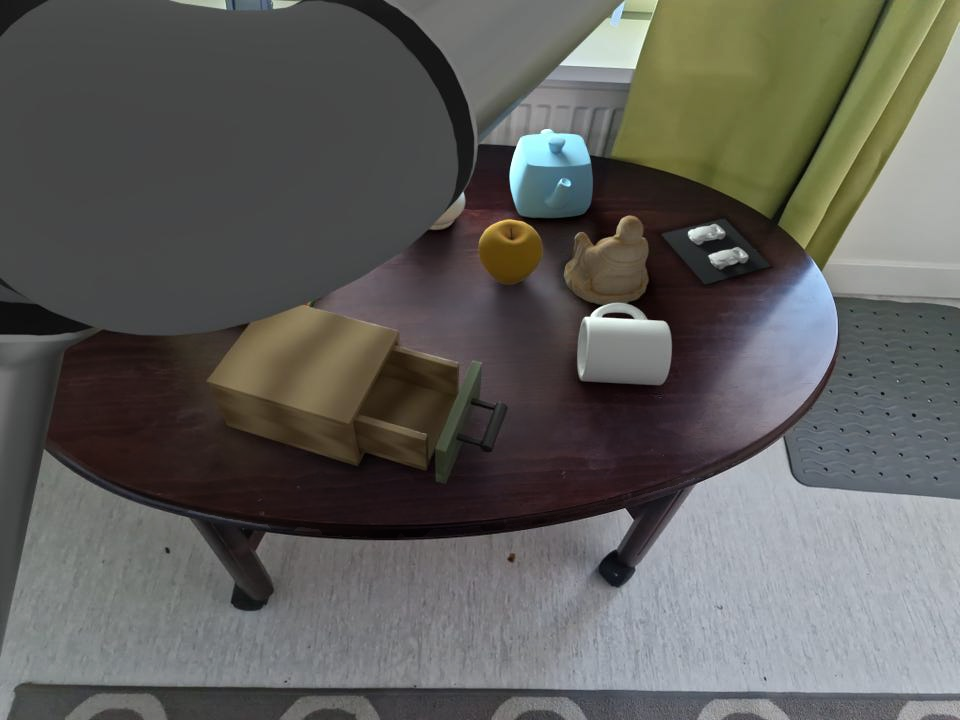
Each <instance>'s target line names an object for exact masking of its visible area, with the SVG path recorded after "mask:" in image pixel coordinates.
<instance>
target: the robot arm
mask: <svg viewBox="0 0 960 720" xmlns="http://www.w3.org/2000/svg"><path fill="white" fill-rule="evenodd" d="M625 1H626V0H299V1H298V2H296V3H294V4H292V5H289V6H285V7H278V8H269V9H225V8H218V7H211V6H205V5H198V4H192V3H191V4H190V3H183V2H178V1H175V0H0V657H1V655H2V650H3V646H4V642H5V637H6V632H7V627H8V623H9V619H10V613H11V608H12V602H13V599H14V595H15V589H16V584H17V580H18V576H19V575H18V574H19V570H20V566H21V561H22V556H23V551H24V545H25V543H26V542H25V541H26V537H27V532H28V527H29V524H30V523H29V522H30V518H31V513H32V510H33V509H32V508H33V503H34V499H35V493H36V489H37V485H38V480H39V476H40V470H41V467H42V466H41V465H42V461H43V455H44V450H45V447H46V442H47V437H48V432H49V427H50V422H51V418H52V413H53V409H54V404H55V398H56V393H57V389H58V384H59V380H60V374H61V370H62V366H63V365H62V364H63V360H64V356H65V352H66V350H68V349H69V348H71V347H73V346H74V345H76V344H79V343H80V342H82V341H84V340H86V339H88V338H90V337H92V336H94V335H95V334H97V333H99V332H101V331H103V330H104V331H110V332H117V333H122V334H130V335H137V336H181V335H192V334H193V335H194V334H201V333H202V334H203V333H208V332H214V331H221V330H225V329H229V328H233V327H234V326H238V325H242V324H246V323H250V322H254V321H258V320H262V319H265V318H269V317H271V316H274V315H276V314H279V313H282V312H284V311H287V310H290V309H293V308H295V307H298V306H301V305H303V304H306V303H309V302H312V301H314V300H315V301H316V300H319V299H321V298H323V297H324V296H327V295H329V294H331V293H333V292H335V291H337V290H339V289H341V288H344V287H345V286H348V285H350V284H352V283H353V282H355V281H358V280H359V279H361V278H363V277H365V276H366V275H368V274H369V273H371V272H373V271H374V270H375V269H377V268H379V267H380V266H382V265H383V264H385V263H387V262H388V261H389V260H391V259H393V258H395V257H397V256H398V255H399V254H401V253H402V252H403V251H404V250H405V249H407V248H408V247H409V246H410V245H412V244H413V243H414V242H416V241H417V240H418V239H420V238H421V237H422V236H423V235H424V234H425V233H426V232H427V231H428V230H430V229H429V228H430V227H431V226H432V225H433V224H434V223H435V222H436V221H437V220H438V219H439V218H440V217H441V216H442V215H443V214H444V213H445V212H446V211H447V210H448V209H449V208H450V207H451V206H452V204H453V203H454V202H455V201H456V200H457V199H458V198H459V197H460V196H461V194H462V193H463V192H465V190H466V189H467V188H468V185H469V184H470V182H471V179H472V177H473V174H474V172H475V168H476V163H477V158H478V147H479V145H480V144H481V143H482V142H483V141H484V140H486V138H487V137H488V136H489V135H490V134H491V133H492V132H493V131H494V130H495V129H497V127H498V126H499V125H500V124H501V123H503V121H504V120H505V119H506V118H507V117H508V116H510V114H512V112H513V111H514V110H515V109H516V108H517V107H518V106H519V105H520V104H522V103H523V102H524V101H525V100H526V99H527V98H528V96H529V95H530V94H532V93H533V92H534V91H535V90H536V89H537V88H538V87H539V86H540V85H542V83H543V82H544V81H545V80H546V79H547V78H548V77H549V76H550V75H551V74H552V73H553V72H554V71H555V70H556V69H558V67H559V66H560V65H561V64H562V63H563V62H564V61H565V60H566V59H567V58H568V57H569V56H570V55H571V54H572V53H573V52H574V51H575V50H576V49H577V48H578V47H579V46H580V45H582V43H583V42H584V41H586V39H587V38H588V37H589V36H590V35H592V33H593V32H595V30H597V29H598V27H599V26H600V25H602V24H603V23H604V21H606V20H607V19H608V18H609V17H610V16H611V15H612V14H613V12H615V11H616V10H617V9H618V8H619V7H620V6H621V5H622V4H623V3H624V2H625ZM315 301H314V302H315ZM234 328H235V327H234Z"/></svg>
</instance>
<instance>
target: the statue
mask: <svg viewBox="0 0 960 720" xmlns="http://www.w3.org/2000/svg"><path fill="white" fill-rule="evenodd" d="M618 222H619V223H618V225H617V227H616V230H615V231H616V233H615V234H614V235H613V236H608V237H605V238H602V239H600V240H598V242H597V243H596V244H595V245H594V244H593V243H592V242H591V240H590V238H589V237H588V235H587V234H586V232H583V231H580V232H578V233H577V234H576V235H575V236H574V246H573V250H572V255H571V257H572V258H571V259H570V260H569V261H568V262H567V263H566V264H565V268H564V273H563V277H564V280H565V283H566V286H567V288H569V290H571V291H572V292H573V293H574V294H575V296H577V297H579V298H580V299H583V300H584V301H586V302H588V303H593V304H596V305H602V306H604V305H607V304H612V303H625V304H629V303H630V302H633V301H636V300H639V299H640V298H641V296H643V295H644V294H645V292H646V290H647V286H648V284H649V275H648V269H647V267H646V262H647V259H648V256H649V251H650V250H649V243H648V240H647V239H646V238H645V237H643V235H644V225H643V223H642V221H641V220H640V219H639V218H638V217H637V216H634V215H627V216H624V217H622V218H621V219H620V221H618Z"/></svg>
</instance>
